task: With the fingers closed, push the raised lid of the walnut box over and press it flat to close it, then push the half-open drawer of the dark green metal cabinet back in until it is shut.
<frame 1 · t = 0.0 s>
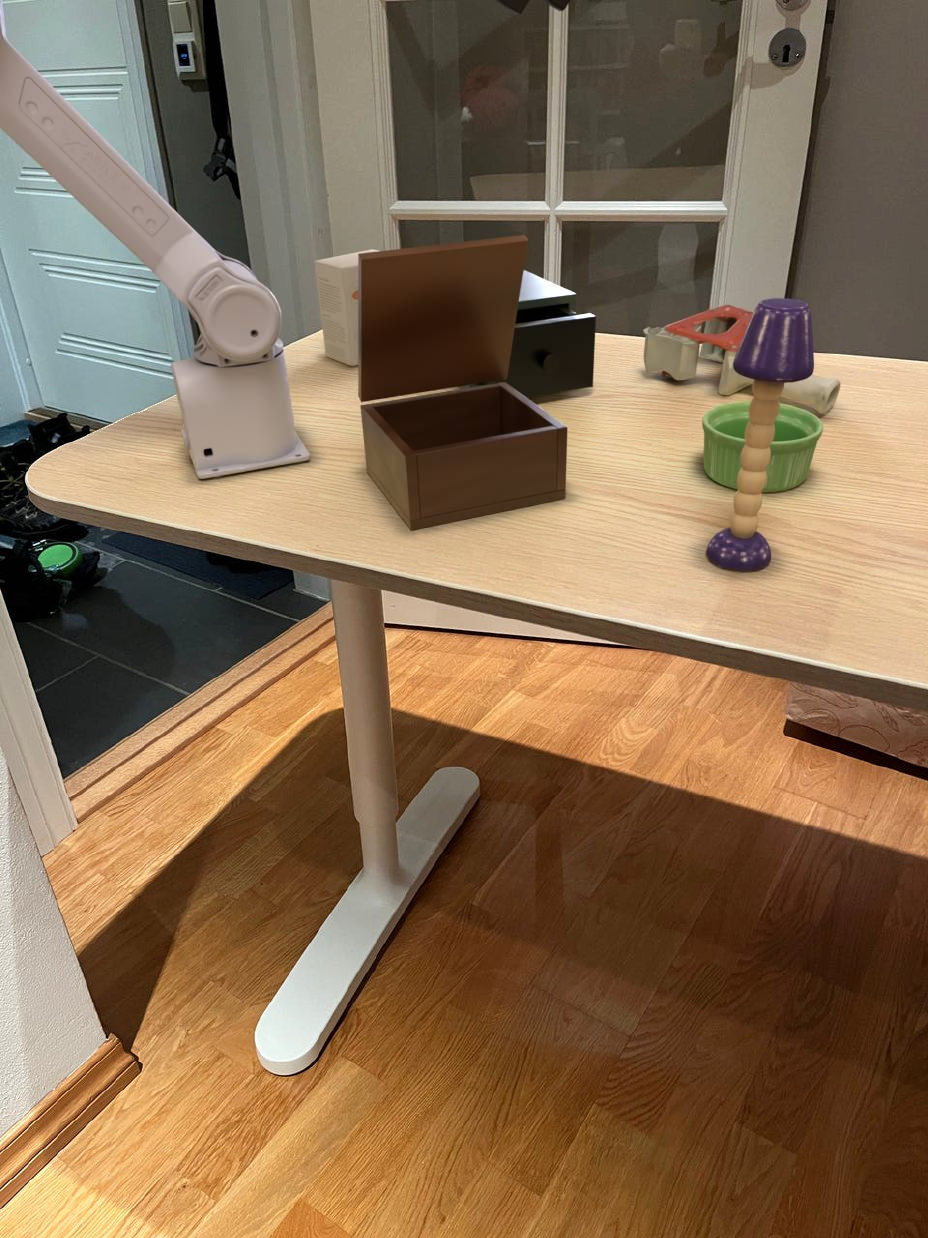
hand: (547, 0, 70), 32 cm above the table, tool tilted 50°, fingers open, 7 cm apart
box: (462, 485, 72), on the table
ramekin: (753, 475, 72), on the table
tape dispenser: (729, 385, 91), on the table
drawer: (520, 344, 90), point 4 cm above the table, slide at 4.0 cm
box lid: (439, 321, 69), point 12 cm above the table, hinge at 70.0°
small box: (367, 356, 103), on the table
cabinet: (496, 369, 97), on the table
toy lamp: (742, 559, 61), on the table
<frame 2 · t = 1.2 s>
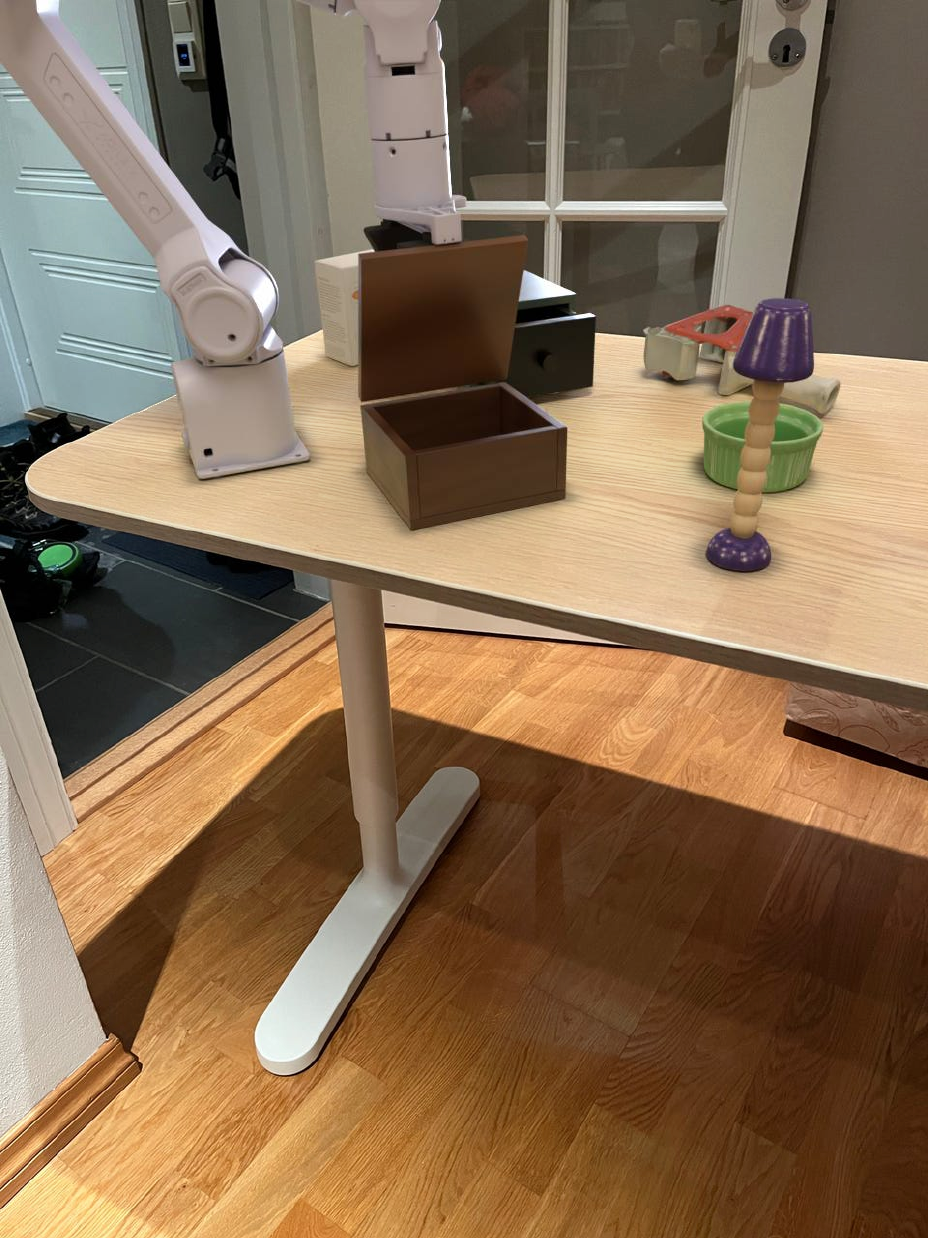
hand: (423, 324, 74), 11 cm above the table, tool pointing down, fingers open, 7 cm apart
nothing on the table moved.
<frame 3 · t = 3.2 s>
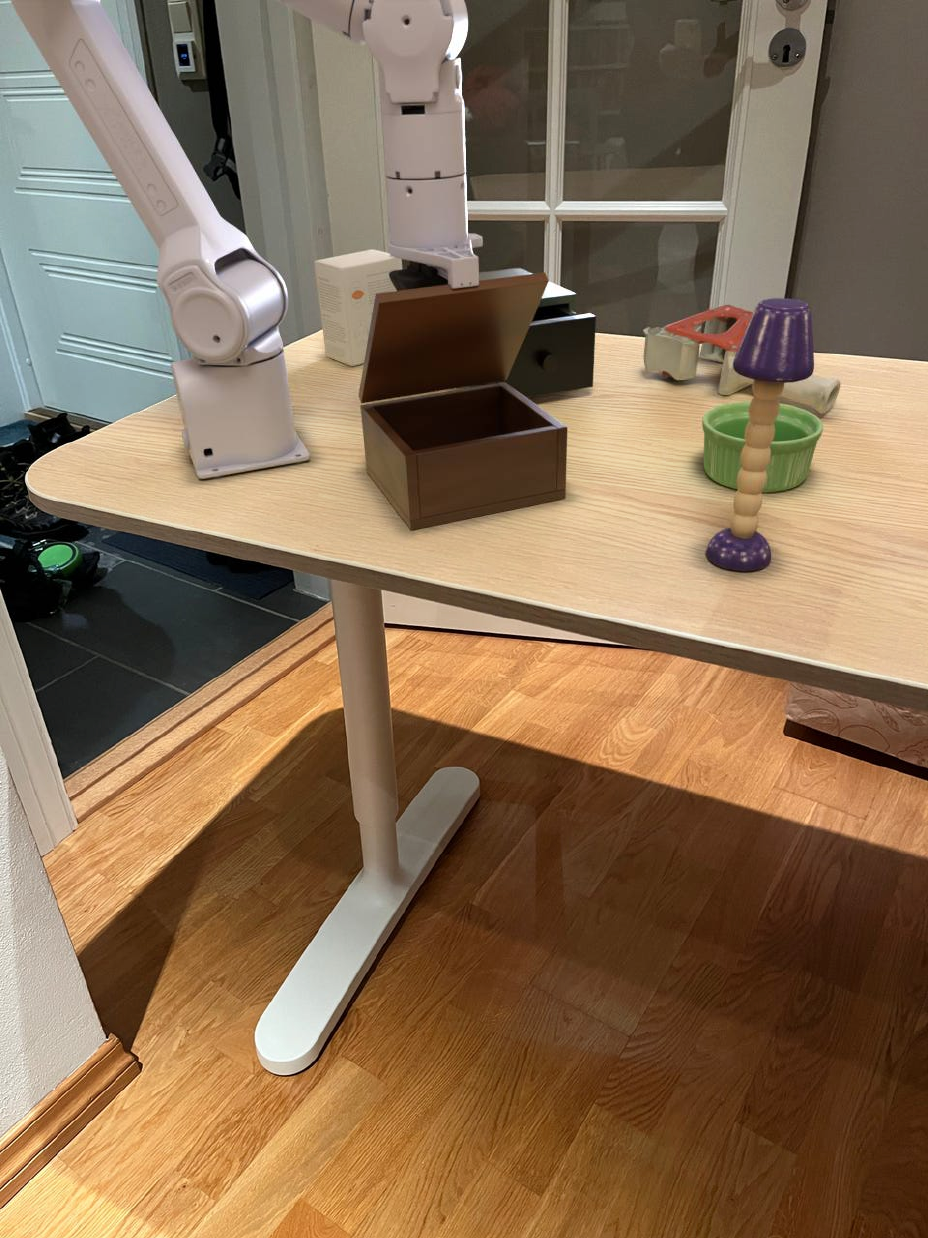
hand: (435, 363, 72), 8 cm above the table, tool pointing down, fingers closed
box lid: (448, 341, 68), point 11 cm above the table, hinge at 50.4°, touching gripper
everything else where it was.
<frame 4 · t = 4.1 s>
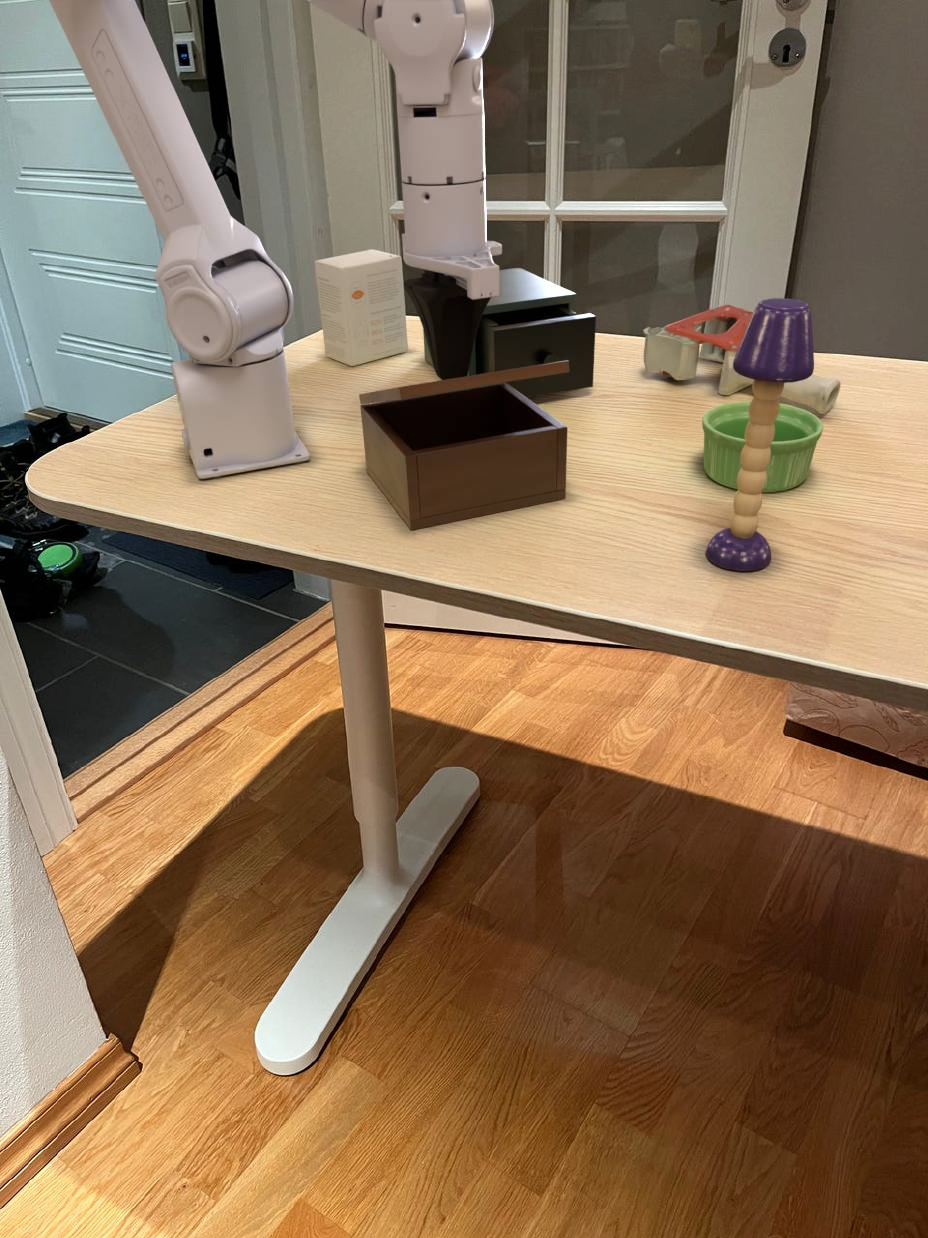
hand: (451, 376, 69), 8 cm above the table, tool pointing down, fingers closed
box lid: (458, 383, 68), point 8 cm above the table, hinge at 19.3°, touching gripper
everything else where it was.
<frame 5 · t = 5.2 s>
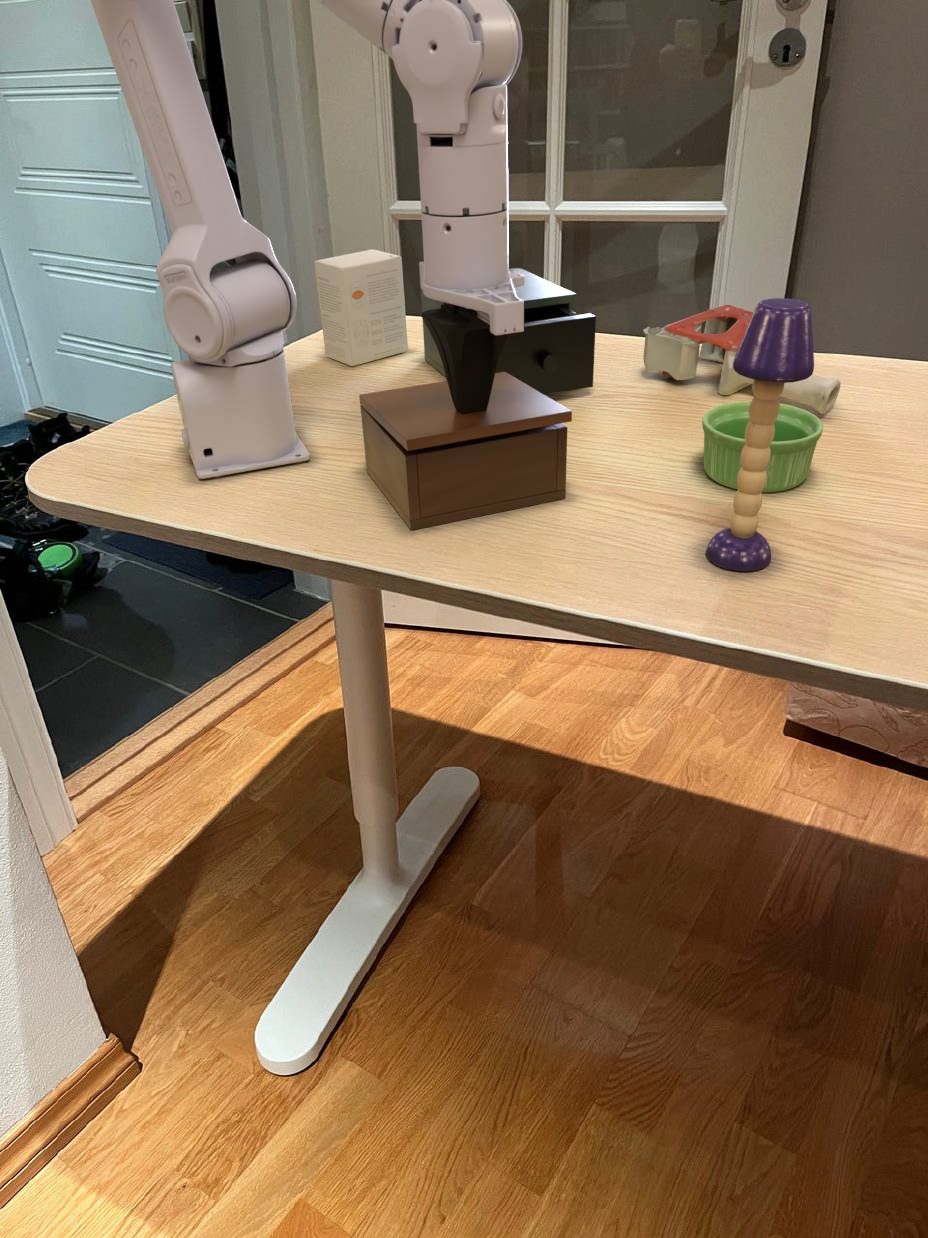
hand: (471, 409, 67), 7 cm above the table, tool pointing down, fingers closed
box lid: (460, 407, 69), point 7 cm above the table, hinge at 2.6°, touching gripper
everything else where it was.
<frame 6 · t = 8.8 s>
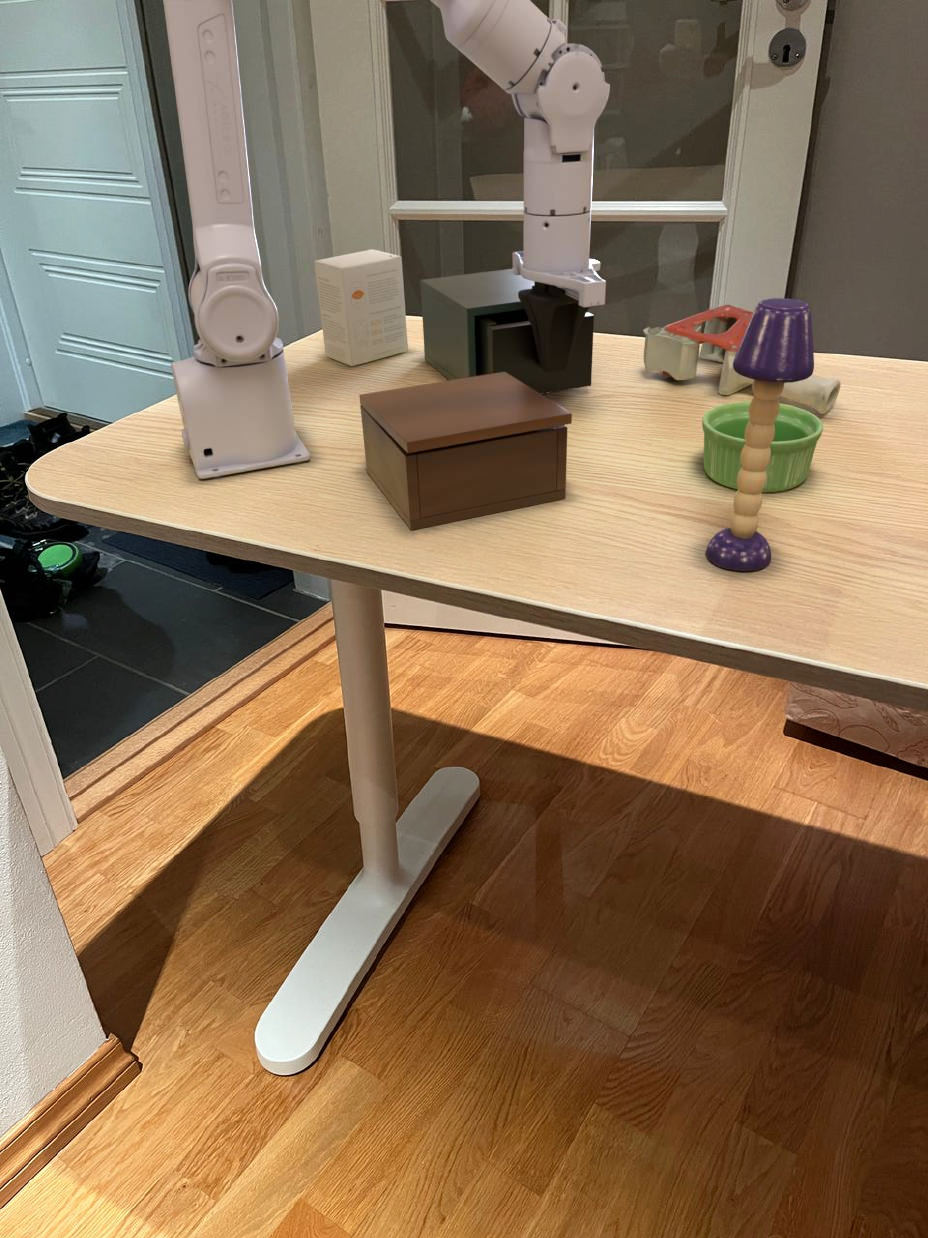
hand: (554, 369, 84), 4 cm above the table, tool pointing down, fingers closed
drawer: (519, 343, 90), point 4 cm above the table, slide at 3.6 cm, touching gripper
box lid: (460, 408, 69), point 6 cm above the table, hinge at 1.9°
everything else where it was.
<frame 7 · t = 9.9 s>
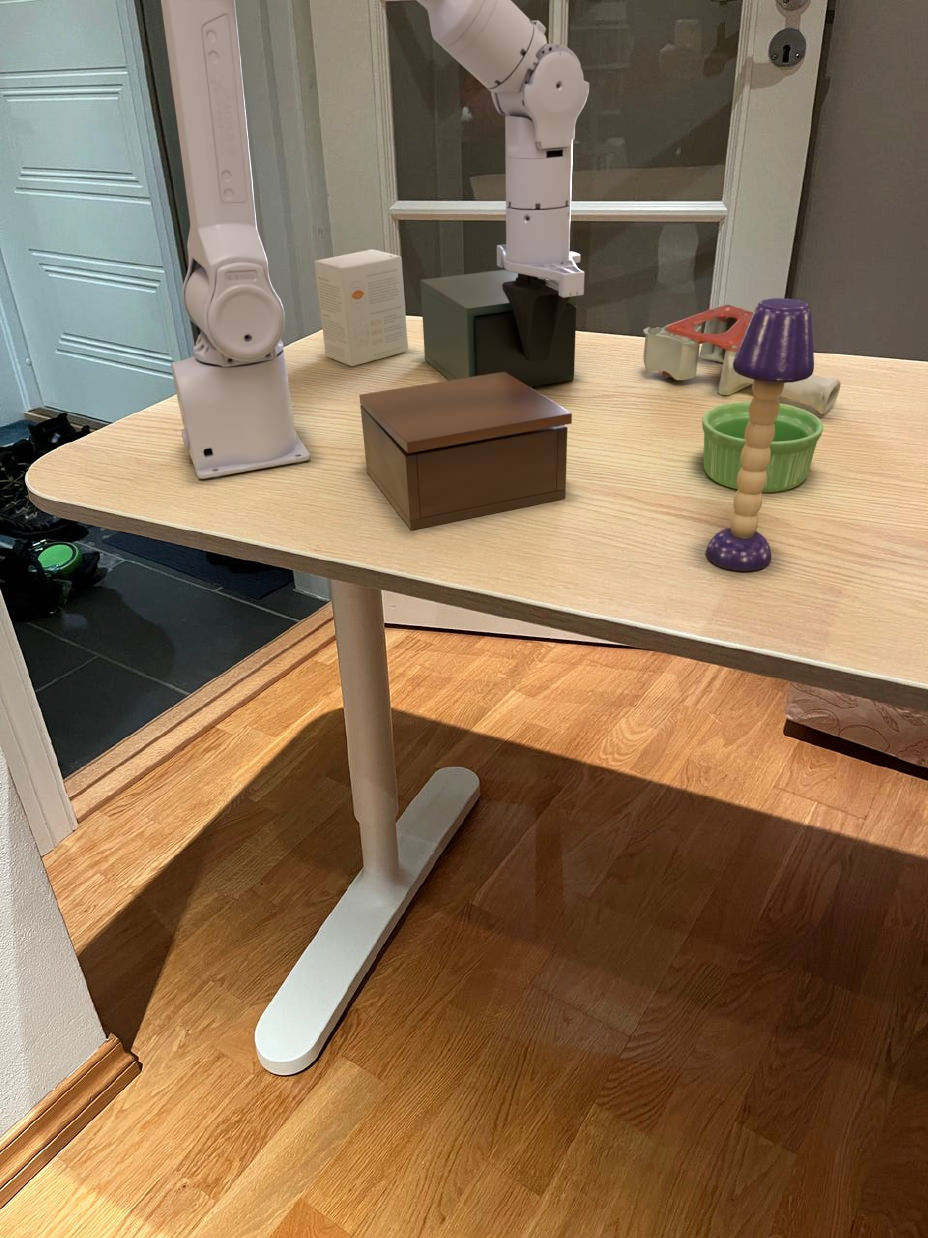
hand: (536, 358, 87), 4 cm above the table, tool pointing down, fingers closed
drawer: (504, 334, 93), point 4 cm above the table, slide at 0.0 cm, touching cabinet, gripper
everything else where it was.
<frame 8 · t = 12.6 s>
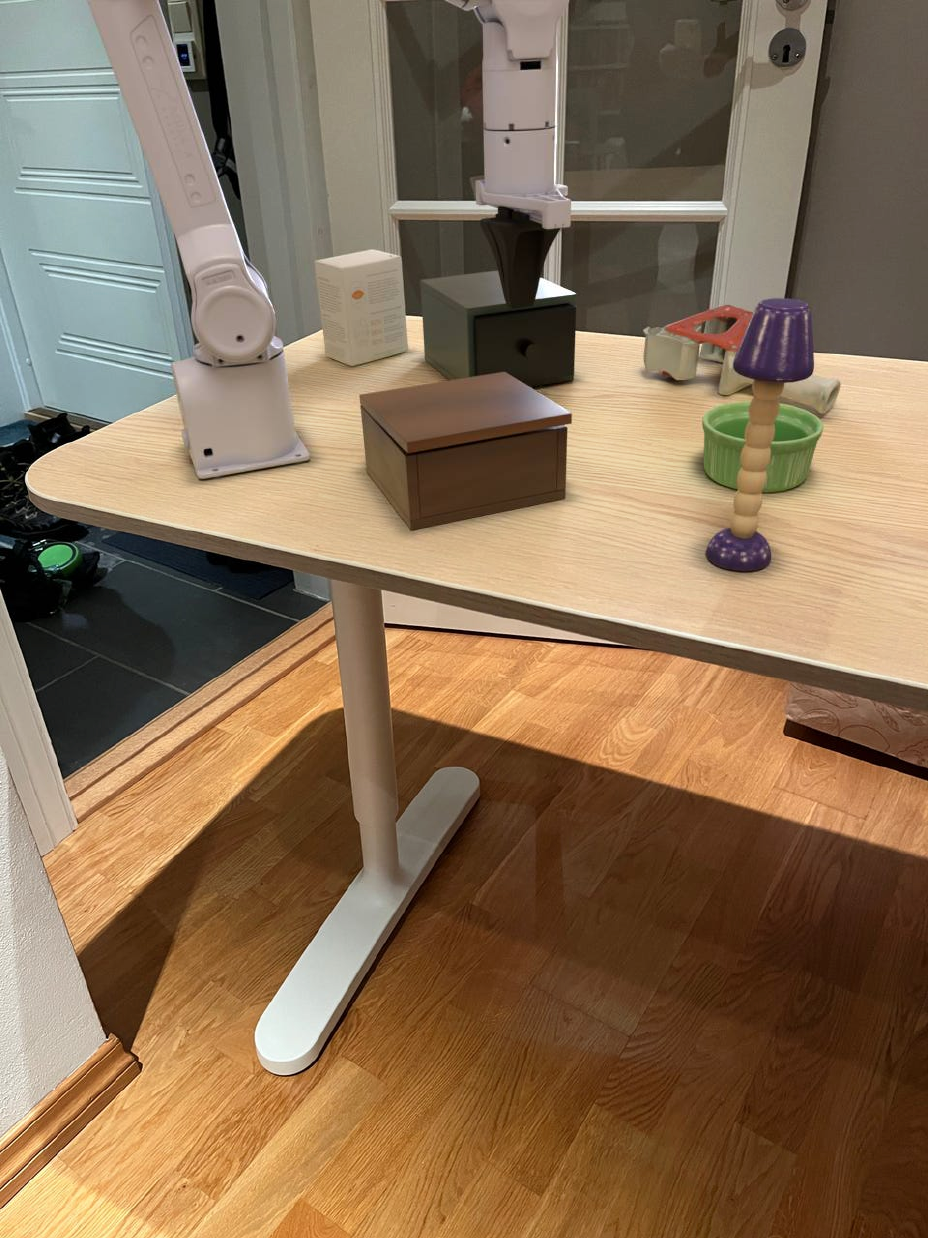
hand: (519, 305, 78), 10 cm above the table, tool pointing down, fingers closed
drawer: (504, 334, 93), point 4 cm above the table, slide at 0.0 cm
everything else where it was.
at the end: box lid at +2° (first picture: +70°); drawer slide at 0.0 cm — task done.
